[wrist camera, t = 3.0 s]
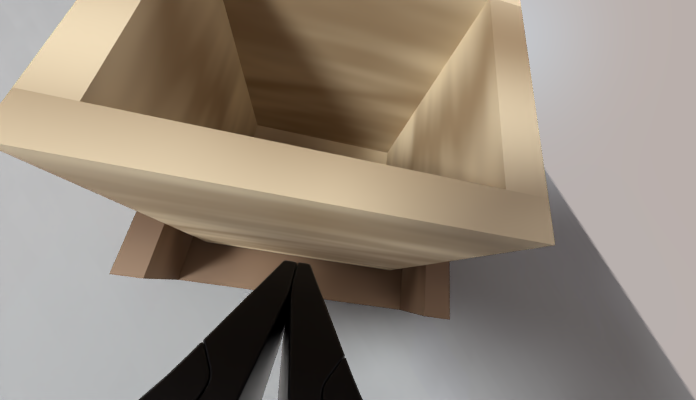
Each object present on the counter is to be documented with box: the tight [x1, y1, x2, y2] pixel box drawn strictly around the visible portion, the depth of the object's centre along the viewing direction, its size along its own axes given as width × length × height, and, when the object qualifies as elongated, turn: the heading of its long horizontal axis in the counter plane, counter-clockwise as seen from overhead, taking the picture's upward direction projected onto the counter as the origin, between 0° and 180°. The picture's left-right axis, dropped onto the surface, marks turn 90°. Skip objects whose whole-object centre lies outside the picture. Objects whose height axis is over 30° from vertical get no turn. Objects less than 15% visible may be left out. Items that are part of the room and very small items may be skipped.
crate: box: [0, 0, 555, 270], centre depth 10 cm, size 8×10×10 cm
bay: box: [110, 211, 450, 320], centre depth 14 cm, size 18×14×6 cm
